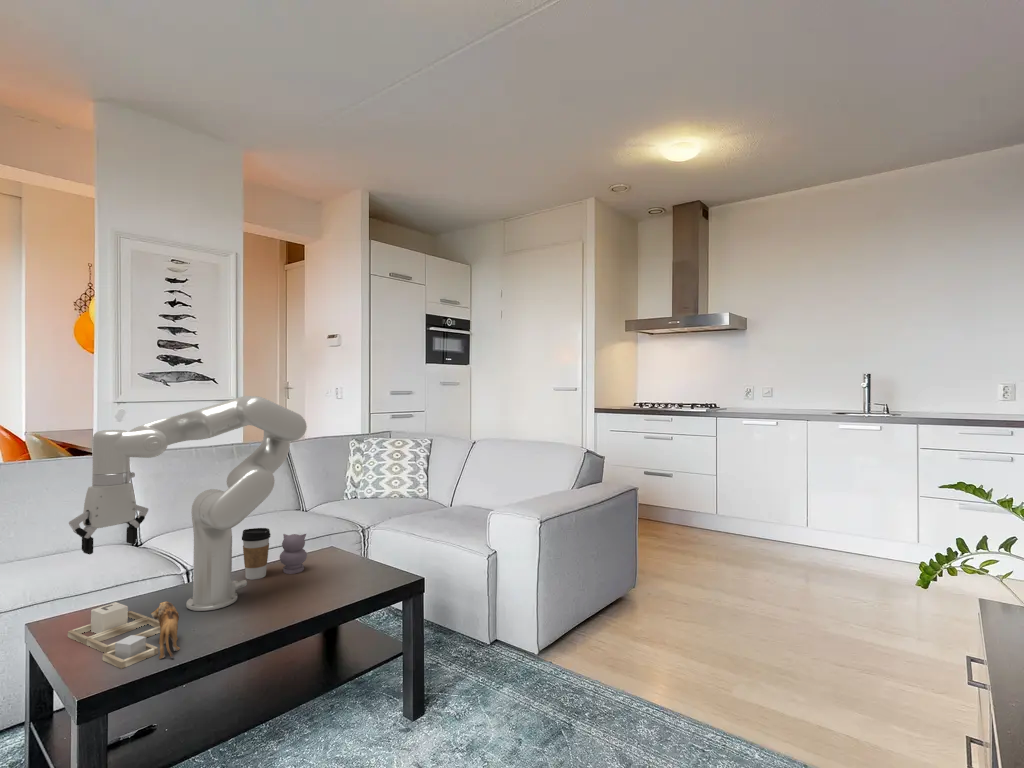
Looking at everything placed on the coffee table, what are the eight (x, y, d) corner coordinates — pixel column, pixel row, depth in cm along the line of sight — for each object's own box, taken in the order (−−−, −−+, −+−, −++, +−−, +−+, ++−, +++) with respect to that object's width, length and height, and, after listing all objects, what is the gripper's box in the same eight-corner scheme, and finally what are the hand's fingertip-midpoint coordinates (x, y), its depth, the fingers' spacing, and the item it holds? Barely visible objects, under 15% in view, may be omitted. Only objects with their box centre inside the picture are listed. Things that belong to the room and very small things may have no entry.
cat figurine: (275, 574, 178) (275, 537, 178) (285, 566, 185) (285, 531, 186) (301, 574, 178) (302, 537, 178) (310, 566, 186) (310, 531, 186)
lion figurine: (149, 639, 132) (150, 602, 132) (175, 633, 135) (175, 596, 135) (160, 663, 121) (160, 622, 121) (187, 655, 124) (188, 616, 124)
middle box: (149, 622, 141) (149, 617, 141) (168, 629, 137) (168, 624, 137) (86, 645, 129) (86, 639, 129) (105, 653, 125) (105, 647, 125)
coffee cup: (237, 576, 176) (237, 529, 176) (264, 570, 182) (264, 524, 182) (246, 583, 170) (247, 534, 170) (274, 576, 176) (274, 529, 176)
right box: (130, 615, 145) (130, 610, 145) (148, 622, 141) (148, 617, 141) (67, 637, 133) (67, 631, 133) (85, 644, 129) (85, 638, 129)
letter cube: (115, 623, 141) (115, 601, 141) (127, 628, 138) (127, 605, 138) (90, 632, 136) (91, 609, 136) (102, 636, 133) (103, 613, 133)
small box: (139, 646, 128) (139, 640, 128) (158, 653, 125) (158, 647, 125) (102, 660, 122) (102, 654, 122) (121, 668, 118) (121, 662, 118)
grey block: (131, 652, 126) (131, 634, 126) (145, 654, 125) (145, 636, 125) (115, 660, 122) (115, 642, 122) (129, 663, 121) (130, 644, 121)
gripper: (139, 473, 146) (138, 537, 146) (62, 483, 131) (61, 555, 131) (155, 476, 143) (155, 541, 143) (78, 486, 128) (77, 560, 128)
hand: (110, 548), depth 137 cm, fingers open, 9 cm apart
